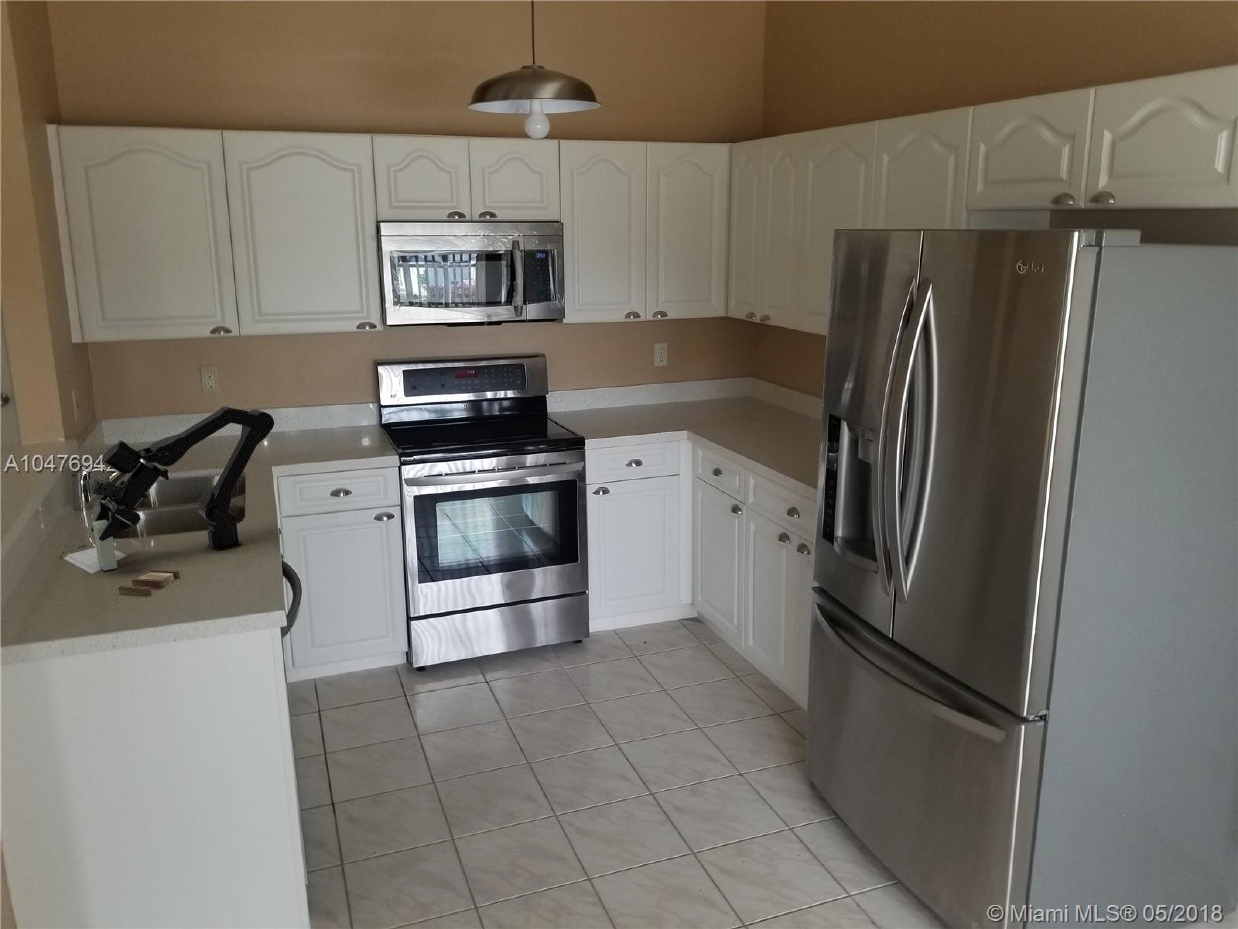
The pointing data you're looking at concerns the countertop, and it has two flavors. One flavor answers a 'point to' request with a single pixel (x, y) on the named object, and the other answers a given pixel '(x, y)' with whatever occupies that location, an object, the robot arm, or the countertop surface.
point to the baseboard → (88, 559)
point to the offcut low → (168, 580)
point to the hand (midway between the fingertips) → (96, 535)
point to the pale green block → (104, 547)
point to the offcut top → (157, 576)
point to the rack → (147, 584)
